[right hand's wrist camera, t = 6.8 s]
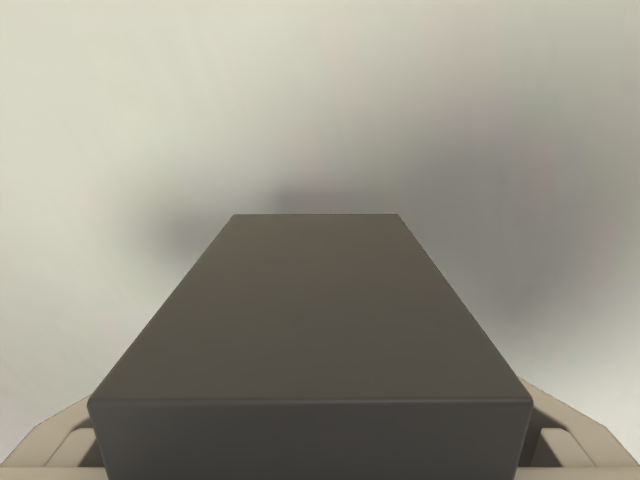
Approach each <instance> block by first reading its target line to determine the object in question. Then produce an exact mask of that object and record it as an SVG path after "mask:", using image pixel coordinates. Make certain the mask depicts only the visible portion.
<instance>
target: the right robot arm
mask: <svg viewBox="0 0 640 480" xmlns="http://www.w3.org/2000/svg"><path fill="white" fill-rule="evenodd" d="M517 377H518V376H517ZM518 378H519V377H518ZM519 380H520V381H521V383H522V384H523V385H524V387H525V388H526V389H527V391H528V392H529V393H530V395H531V396H532V398H533V402H534V406H533V410H532V414H531V417H530V421H529V425H528V429H527V432H526V436H525V440H524V444H523V447H522V451H521V455H520V459H519V462H518V466H517V470H516V474H515V477H514V480H640V465H639V464H638V462H637V461H636V460H635V459H634V458H633V457H632V456H631V455H630V453H629V452H628V451H627V450H626V449H625V448H624V447H623V446H622V444H621V443H620V442H619V441H618V440H617V439H616V438H615V437H614V436H613V434H612V433H611V432H610V431H609V430H608V429H607V428H606V427H605V426H603V425H601V424H600V423H598V422H596V421H595V420H593V419H591V418H589V417H588V416H586V415H584V414H582V413H581V412H579V411H577V410H575V409H574V408H572V407H570V406H568V405H567V404H565V403H563V402H561V401H560V400H558V399H556V398H554V397H553V396H551V395H549V394H547V393H546V392H544V391H542V390H540V389H539V388H537V387H535V386H533V385H532V384H530V383H528V382H526V381H525V380H523V379H521V378H519ZM91 395H92V394H91ZM91 395H89V396H87V397H86V398H84V399H82V400H80V401H79V402H77V403H75V404H73V405H72V406H70V407H68V408H66V409H65V410H63V411H61V412H59V413H58V414H56V415H54V416H52V417H51V418H49V419H47V420H45V421H44V422H42V423H40V424H38V425H37V426H35V427H34V428H33V429H32V430H31V431H30V432H29V434H28V435H27V436H26V437H25V438H24V439H23V440H22V441H21V442H20V444H19V445H18V446H17V447H16V448H15V449H14V450H13V451H12V452H11V454H10V455H9V456H8V457H7V458H6V459H5V460H4V461H3V463H2V464H1V465H0V480H108V477H107V473H106V470H105V467H104V463H103V460H102V456H101V453H100V450H99V446H98V443H97V440H96V436H95V433H94V430H93V426H92V423H91V420H90V416H89V413H88V410H87V402H88V399H89V398H90V396H91Z"/></svg>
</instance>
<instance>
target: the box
mask: <svg viewBox="0 0 640 480" xmlns="http://www.w3.org/2000/svg"><path fill="white" fill-rule="evenodd" d="M533 406H534V402H533V398H532V396H531V395H530V393H529V392H528V391H527V389H526V388H525V387H524V385H523V384H522V383H521V381H520V380H519V378H518V377H517V376H516V374H515V373H514V372H513V370H512V369H511V368H510V366H509V365H508V364H507V362H506V361H505V359H504V358H503V357H502V355H501V354H500V353H499V351H498V350H497V349H496V347H495V346H494V344H493V343H492V342H491V340H490V339H489V338H488V336H487V335H486V334H485V332H484V331H483V330H482V328H481V327H480V325H479V324H478V323H477V321H476V320H475V319H474V317H473V316H472V315H471V313H470V312H469V310H468V309H467V308H466V306H465V305H464V304H463V302H462V301H461V300H460V298H459V297H458V296H457V294H456V293H455V291H454V290H453V289H452V287H451V286H450V285H449V283H448V282H447V281H446V279H445V278H444V276H443V275H442V274H441V272H440V271H439V270H438V268H437V267H436V266H435V264H434V263H433V262H432V260H431V259H430V257H429V256H428V255H427V253H426V252H425V251H424V249H423V248H422V247H421V245H420V244H419V242H418V241H417V240H416V238H415V237H414V236H413V234H412V233H411V232H410V230H409V229H408V228H407V226H406V225H405V223H404V222H403V221H402V219H401V218H400V217H399V215H397V214H267V215H233V216H232V218H231V219H230V220H229V221H228V223H227V224H226V225H225V227H224V228H223V229H222V230H221V232H220V233H219V234H218V235H217V237H216V238H215V239H214V240H213V242H212V243H211V244H210V246H209V247H208V248H207V249H206V251H205V252H204V253H203V254H202V256H201V257H200V258H199V259H198V261H197V262H196V263H195V265H194V266H193V267H192V268H191V270H190V271H189V272H188V273H187V275H186V276H185V277H184V278H183V280H182V281H181V282H180V284H179V285H178V286H177V287H176V289H175V290H174V291H173V292H172V294H171V295H170V296H169V297H168V299H167V300H166V301H165V303H164V304H163V305H162V306H161V308H160V309H159V310H158V311H157V313H156V314H155V315H154V316H153V318H152V319H151V320H150V322H149V323H148V324H147V325H146V327H145V328H144V329H143V330H142V332H141V333H140V334H139V335H138V337H137V338H136V339H135V341H134V342H133V343H132V344H131V346H130V347H129V348H128V349H127V351H126V352H125V353H124V354H123V356H122V357H121V358H120V360H119V361H118V362H117V363H116V365H115V366H114V367H113V368H112V370H111V371H110V372H109V373H108V375H107V376H106V377H105V379H104V380H103V381H102V382H101V384H100V385H99V386H98V387H97V389H96V390H95V391H94V392H93V394H92V395H91V396H90V398H89V399H88V402H87V410H88V413H89V416H90V420H91V423H92V426H93V430H94V433H95V436H96V440H97V443H98V446H99V450H100V453H101V456H102V460H103V463H104V467H105V470H106V473H107V477H108V480H514V477H515V474H516V470H517V466H518V462H519V459H520V455H521V451H522V447H523V444H524V440H525V436H526V432H527V429H528V425H529V421H530V417H531V414H532V410H533Z"/></svg>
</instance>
